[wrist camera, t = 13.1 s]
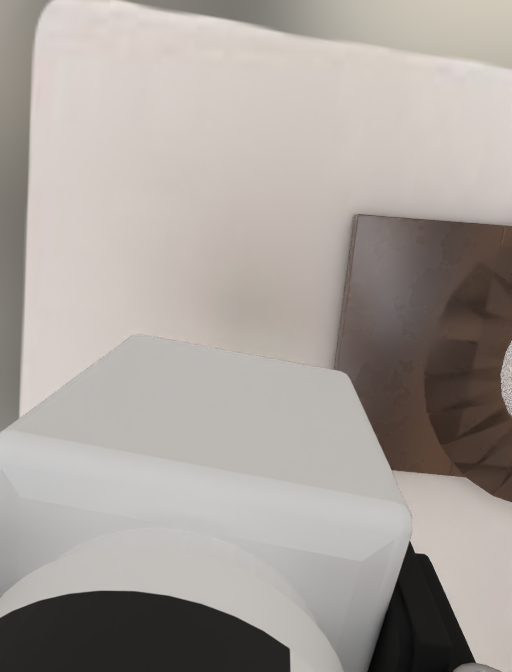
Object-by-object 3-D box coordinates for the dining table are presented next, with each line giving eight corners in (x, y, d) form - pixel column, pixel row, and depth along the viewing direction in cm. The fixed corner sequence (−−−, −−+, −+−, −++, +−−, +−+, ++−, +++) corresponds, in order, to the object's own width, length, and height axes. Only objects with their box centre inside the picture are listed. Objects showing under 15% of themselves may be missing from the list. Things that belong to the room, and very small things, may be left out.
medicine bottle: (112, 516, 15) (-406, 1413, 4) (131, 329, 13) (-777, 958, 2) (305, 552, 15) (384, 1584, 4) (351, 369, 13) (796, 1281, 2)
